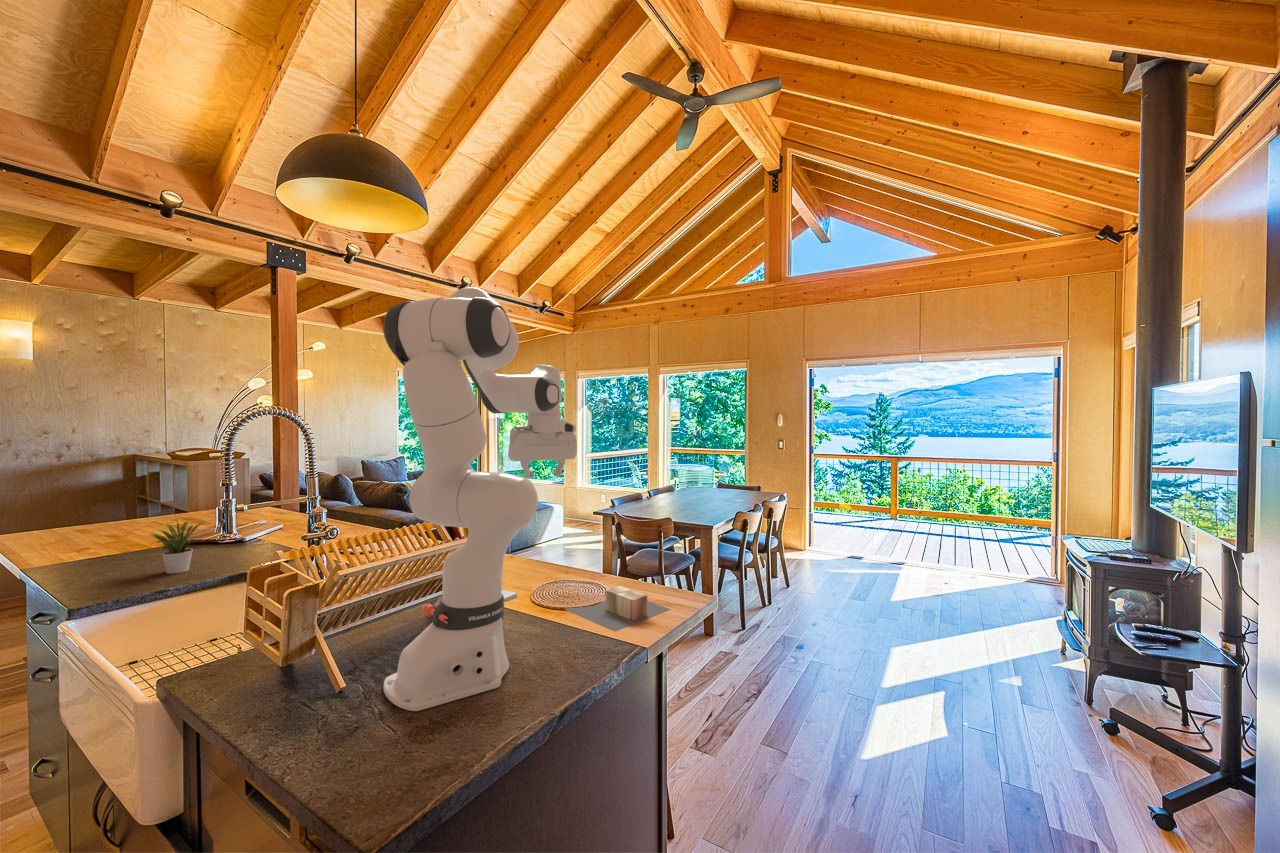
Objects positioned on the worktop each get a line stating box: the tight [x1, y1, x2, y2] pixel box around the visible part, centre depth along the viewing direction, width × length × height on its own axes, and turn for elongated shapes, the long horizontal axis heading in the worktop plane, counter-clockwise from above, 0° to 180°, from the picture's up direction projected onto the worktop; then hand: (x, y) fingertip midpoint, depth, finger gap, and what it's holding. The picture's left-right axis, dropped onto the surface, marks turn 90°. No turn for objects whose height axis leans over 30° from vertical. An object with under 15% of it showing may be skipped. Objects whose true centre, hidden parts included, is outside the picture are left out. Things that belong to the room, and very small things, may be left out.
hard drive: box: [502, 589, 518, 603], centre depth 138 cm, size 2×8×12 cm
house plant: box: [149, 519, 212, 575], centre depth 160 cm, size 14×14×16 cm
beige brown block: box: [605, 585, 648, 620], centre depth 130 cm, size 5×5×10 cm
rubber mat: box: [564, 600, 671, 632], centre depth 132 cm, size 20×19×1 cm
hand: (543, 477), depth 138 cm, fingers open, 8 cm apart
